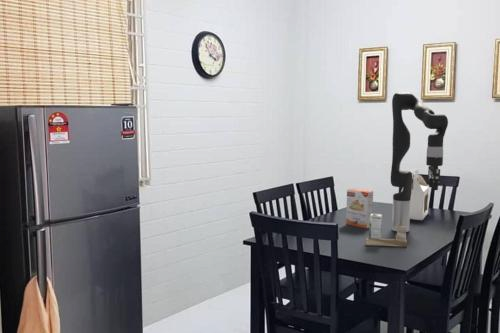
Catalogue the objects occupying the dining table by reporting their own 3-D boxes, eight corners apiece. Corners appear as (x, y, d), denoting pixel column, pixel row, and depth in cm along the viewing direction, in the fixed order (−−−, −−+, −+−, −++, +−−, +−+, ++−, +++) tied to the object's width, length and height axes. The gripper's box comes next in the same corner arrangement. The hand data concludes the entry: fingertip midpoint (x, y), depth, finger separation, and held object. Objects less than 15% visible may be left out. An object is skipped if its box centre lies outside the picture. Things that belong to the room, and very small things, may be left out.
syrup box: (369, 241, 256) (370, 213, 254) (381, 242, 254) (382, 213, 252) (368, 244, 250) (369, 215, 249) (380, 245, 249) (381, 216, 247)
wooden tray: (363, 236, 264) (363, 221, 263) (402, 238, 261) (403, 223, 260) (366, 245, 248) (366, 229, 247) (408, 246, 245) (408, 230, 244)
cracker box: (345, 224, 291) (346, 189, 288) (351, 223, 295) (352, 188, 293) (366, 229, 281) (367, 192, 279) (372, 227, 285) (373, 190, 283)
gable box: (406, 211, 329) (408, 169, 326) (427, 213, 323) (429, 170, 320) (400, 218, 309) (401, 173, 306) (422, 220, 303) (424, 174, 300)
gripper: (423, 154, 252) (422, 186, 254) (430, 157, 238) (428, 190, 240) (439, 154, 251) (437, 186, 253) (446, 157, 237) (444, 191, 239)
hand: (433, 188), depth 246 cm, fingers open, 8 cm apart
